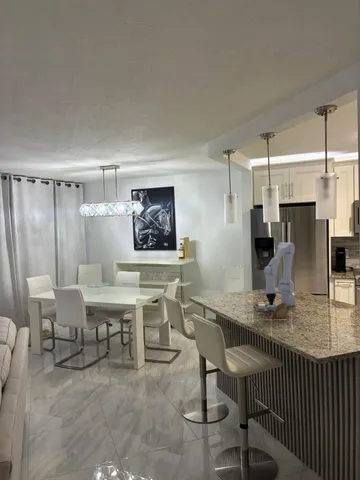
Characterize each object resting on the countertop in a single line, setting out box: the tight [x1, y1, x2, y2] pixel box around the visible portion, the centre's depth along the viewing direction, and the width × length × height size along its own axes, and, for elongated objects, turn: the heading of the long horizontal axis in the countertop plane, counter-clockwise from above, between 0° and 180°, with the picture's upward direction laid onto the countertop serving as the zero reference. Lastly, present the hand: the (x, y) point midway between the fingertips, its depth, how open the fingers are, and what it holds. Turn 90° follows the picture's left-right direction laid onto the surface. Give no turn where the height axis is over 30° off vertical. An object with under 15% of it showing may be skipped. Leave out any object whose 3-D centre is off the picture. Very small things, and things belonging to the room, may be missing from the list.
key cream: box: [257, 303, 266, 309], centre depth 236 cm, size 4×4×2 cm
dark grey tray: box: [253, 303, 277, 313], centre depth 239 cm, size 14×18×2 cm
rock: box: [271, 302, 288, 321], centre depth 218 cm, size 11×9×10 cm
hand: (271, 305), depth 235 cm, fingers closed
